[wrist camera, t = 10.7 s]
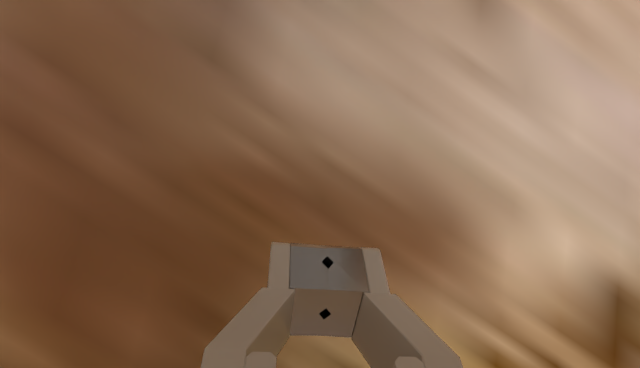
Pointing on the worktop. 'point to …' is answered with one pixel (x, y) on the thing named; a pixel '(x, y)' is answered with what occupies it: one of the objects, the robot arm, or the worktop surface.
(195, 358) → the worktop surface
